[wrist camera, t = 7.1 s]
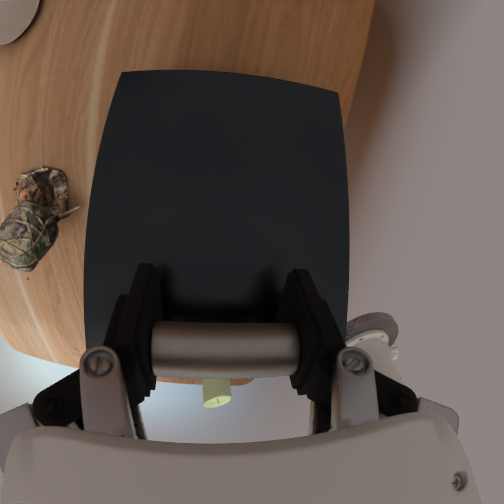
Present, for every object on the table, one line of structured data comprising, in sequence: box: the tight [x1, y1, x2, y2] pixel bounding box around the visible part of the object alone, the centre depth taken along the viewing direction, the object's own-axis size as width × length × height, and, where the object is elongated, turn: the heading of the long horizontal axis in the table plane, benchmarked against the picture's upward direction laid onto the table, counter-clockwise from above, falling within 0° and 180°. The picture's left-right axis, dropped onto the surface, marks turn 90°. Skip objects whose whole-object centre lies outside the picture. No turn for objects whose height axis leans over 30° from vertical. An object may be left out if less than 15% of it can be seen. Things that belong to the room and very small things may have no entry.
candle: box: [202, 378, 232, 408], centre depth 44 cm, size 5×5×8 cm
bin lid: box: [84, 70, 349, 379], centre depth 11 cm, size 16×14×5 cm
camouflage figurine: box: [0, 167, 80, 280], centre depth 18 cm, size 8×11×20 cm
